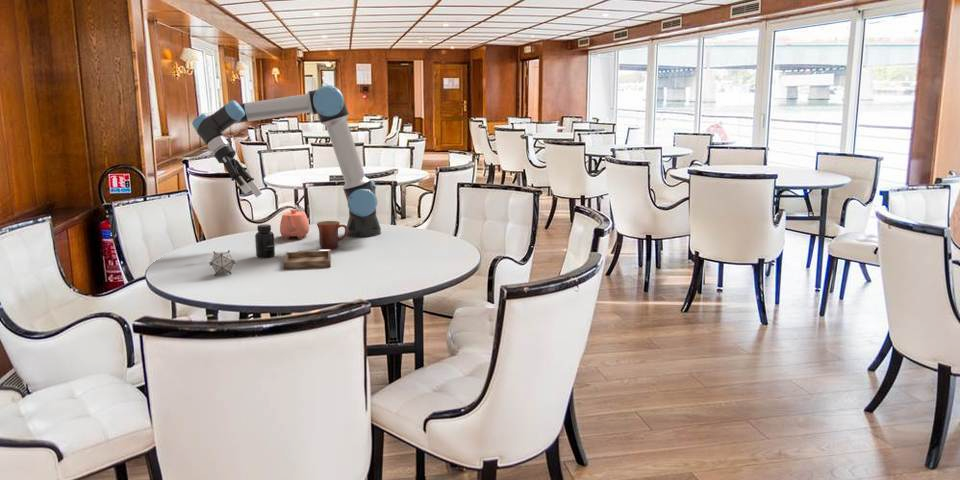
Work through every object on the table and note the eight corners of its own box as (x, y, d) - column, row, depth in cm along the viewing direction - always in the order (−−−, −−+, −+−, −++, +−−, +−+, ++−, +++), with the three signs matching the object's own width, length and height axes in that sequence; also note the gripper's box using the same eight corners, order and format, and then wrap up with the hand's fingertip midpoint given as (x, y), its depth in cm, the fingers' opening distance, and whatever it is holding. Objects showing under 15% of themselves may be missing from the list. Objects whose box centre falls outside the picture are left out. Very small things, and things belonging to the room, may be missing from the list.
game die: (226, 285, 241) (224, 267, 234) (204, 276, 242) (201, 257, 235) (241, 268, 247) (240, 249, 240) (220, 258, 248) (218, 239, 241)
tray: (330, 256, 266) (330, 250, 266) (330, 267, 251) (330, 260, 250) (286, 259, 263) (286, 252, 262) (284, 269, 248) (283, 262, 247)
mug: (315, 250, 277) (313, 224, 275) (322, 245, 285) (320, 220, 283) (344, 251, 276) (343, 225, 274) (351, 246, 284) (350, 221, 282)
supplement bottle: (272, 258, 264) (269, 227, 261) (253, 258, 264) (251, 227, 261) (277, 254, 270) (275, 223, 268) (259, 254, 270) (257, 223, 268)
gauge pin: (330, 253, 271) (330, 248, 270) (330, 255, 269) (330, 249, 268) (298, 255, 268) (298, 250, 268) (298, 256, 267) (297, 251, 266)
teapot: (286, 233, 311) (284, 206, 308) (313, 232, 311) (311, 205, 309) (275, 242, 291) (273, 213, 289) (304, 242, 292) (302, 213, 289)
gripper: (225, 160, 289) (255, 201, 289) (201, 150, 264) (234, 196, 264) (240, 149, 289) (270, 191, 289) (218, 139, 264) (251, 184, 264)
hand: (253, 193), depth 276 cm, fingers open, 13 cm apart
